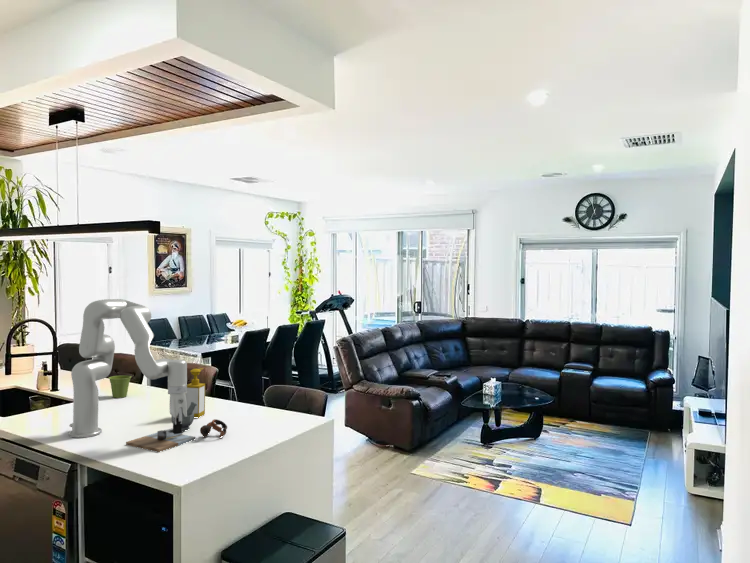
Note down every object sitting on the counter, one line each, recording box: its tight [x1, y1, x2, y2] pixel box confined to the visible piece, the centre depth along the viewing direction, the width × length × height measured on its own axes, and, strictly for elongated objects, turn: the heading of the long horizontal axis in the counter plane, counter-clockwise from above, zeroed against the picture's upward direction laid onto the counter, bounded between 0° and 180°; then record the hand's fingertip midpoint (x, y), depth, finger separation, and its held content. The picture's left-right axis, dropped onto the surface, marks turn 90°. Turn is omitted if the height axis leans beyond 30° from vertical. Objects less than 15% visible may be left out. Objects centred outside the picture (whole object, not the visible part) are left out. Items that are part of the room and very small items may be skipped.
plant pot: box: [108, 375, 132, 399], centre depth 302 cm, size 12×12×11 cm
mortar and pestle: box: [171, 402, 197, 432], centre depth 239 cm, size 11×9×12 cm
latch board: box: [125, 432, 196, 453], centre depth 219 cm, size 19×19×1 cm
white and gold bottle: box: [185, 368, 206, 419], centre depth 265 cm, size 7×13×24 cm, turn 174°
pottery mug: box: [199, 419, 228, 438], centre depth 227 cm, size 12×10×8 cm
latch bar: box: [156, 427, 183, 440], centre depth 222 cm, size 11×3×3 cm, turn 144°
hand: (177, 433), depth 222 cm, fingers closed
